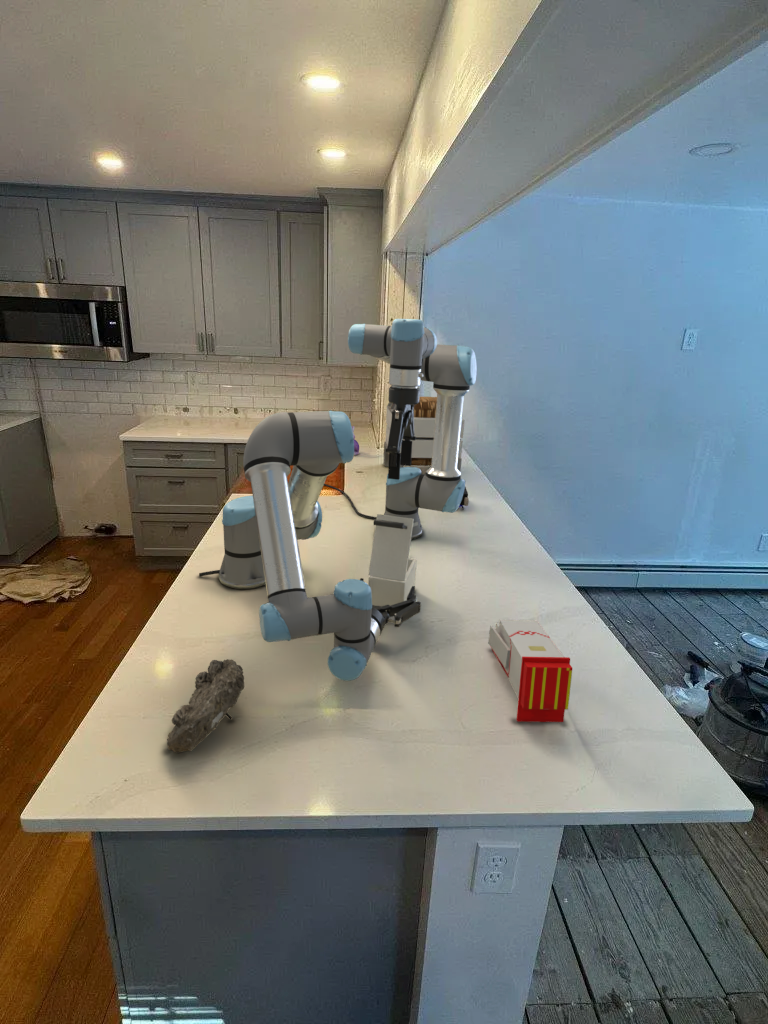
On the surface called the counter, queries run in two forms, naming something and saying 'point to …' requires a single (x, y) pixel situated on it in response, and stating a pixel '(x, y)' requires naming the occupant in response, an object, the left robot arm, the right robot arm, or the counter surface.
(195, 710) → the fossil
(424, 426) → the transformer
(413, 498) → the right robot arm
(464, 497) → the figurine character
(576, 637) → the counter surface
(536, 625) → the toy
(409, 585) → the chest
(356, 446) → the figurine
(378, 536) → the lid
